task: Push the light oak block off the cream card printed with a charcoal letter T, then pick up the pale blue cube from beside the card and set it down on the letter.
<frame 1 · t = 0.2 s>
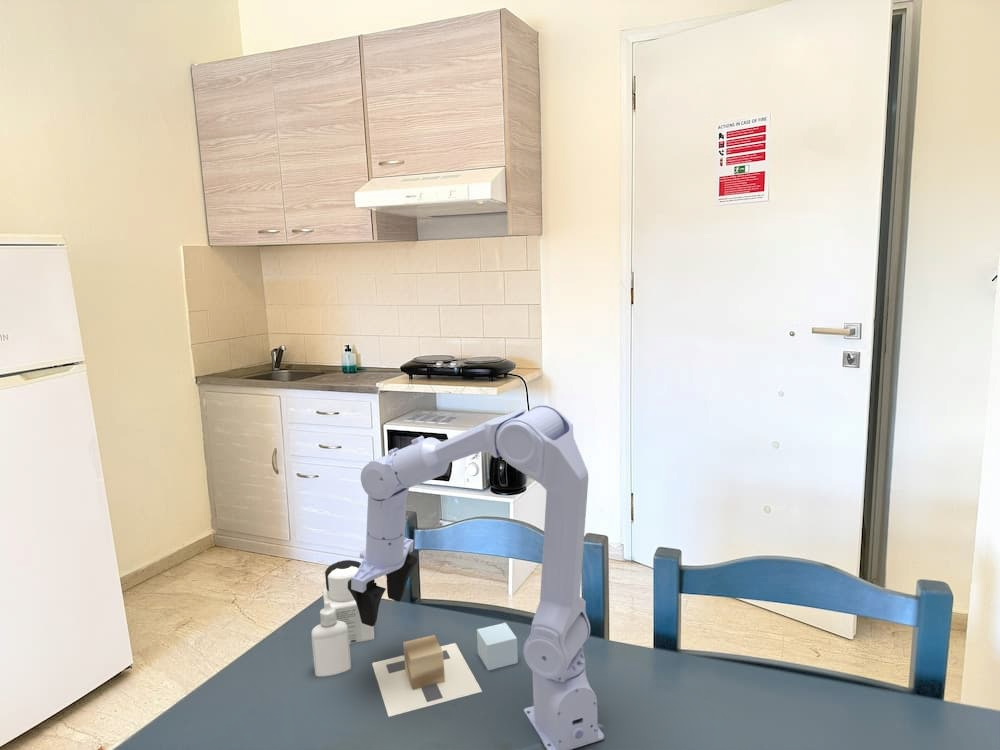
hand: (381, 610, 104), 10 cm above the table, tool pointing down, fingers open, 7 cm apart
letter card: (425, 680, 103), on the table
oak block: (424, 676, 103), point 1 cm above the table, touching letter card
pale blue cube: (497, 662, 107), on the table
eye dropper bottle: (333, 673, 106), on the table
container: (350, 636, 117), on the table
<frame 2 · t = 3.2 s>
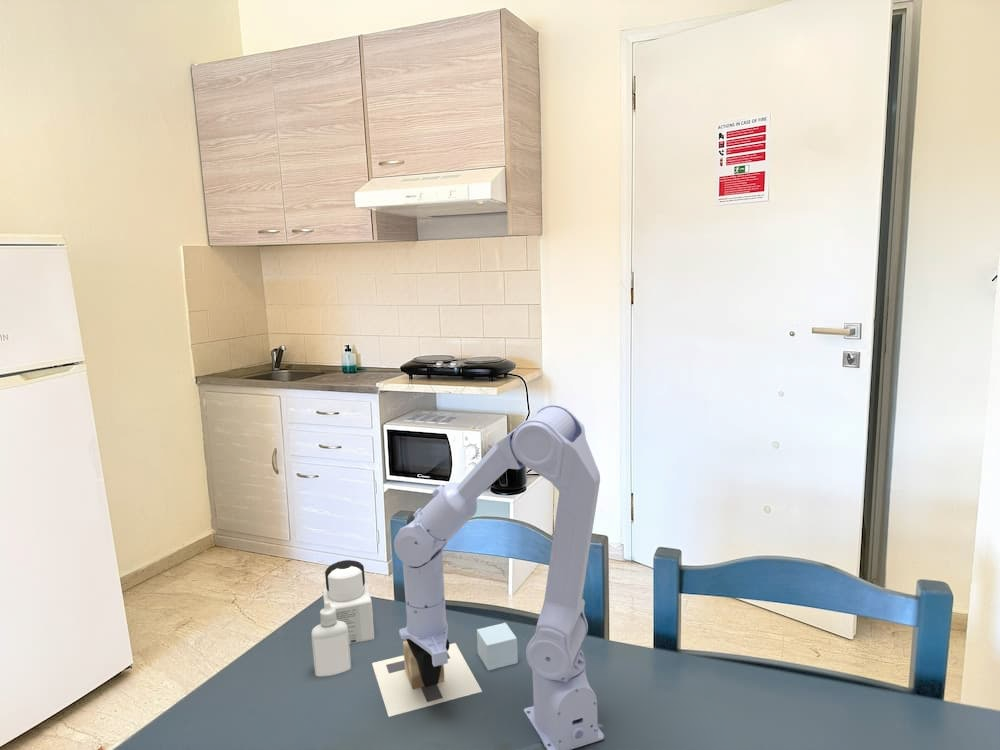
hand: (430, 683, 99), 2 cm above the table, tool pointing down, fingers closed
oak block: (424, 675, 103), point 1 cm above the table, touching gripper
everything else where it was.
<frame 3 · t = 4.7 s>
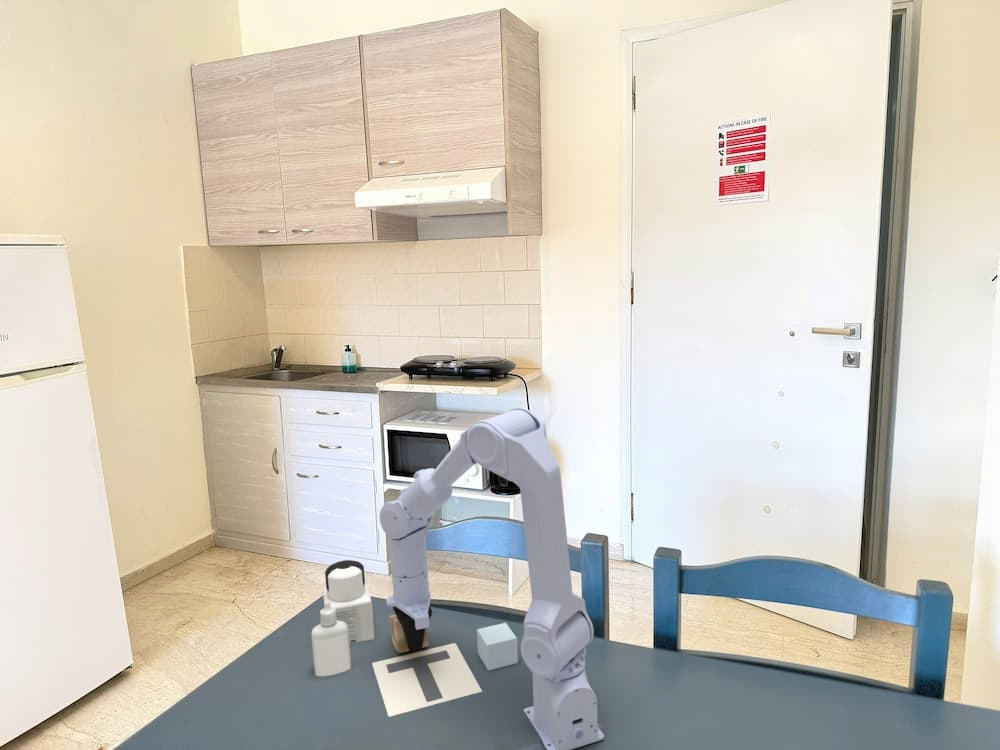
hand: (414, 647, 108), 2 cm above the table, tool pointing down, fingers closed
oak block: (410, 646, 111), point 1 cm above the table, tilted 16°, touching gripper
everything else where it was.
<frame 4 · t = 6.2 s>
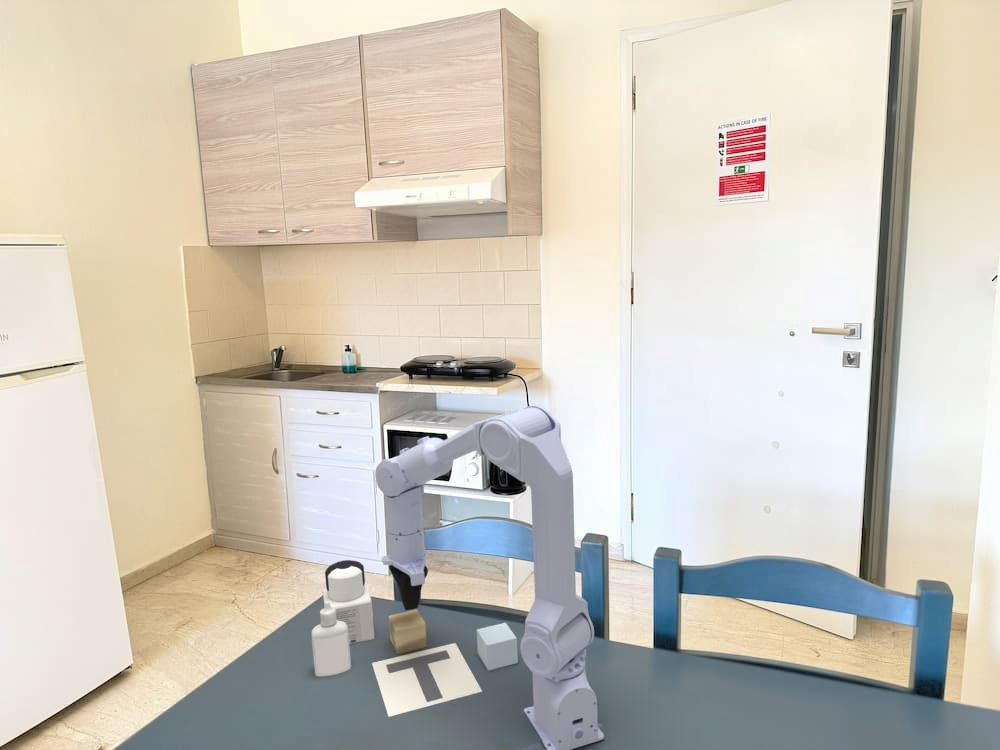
hand: (410, 607, 109), 8 cm above the table, tool pointing down, fingers closed
oak block: (408, 646, 112), on the table
everything else where it was.
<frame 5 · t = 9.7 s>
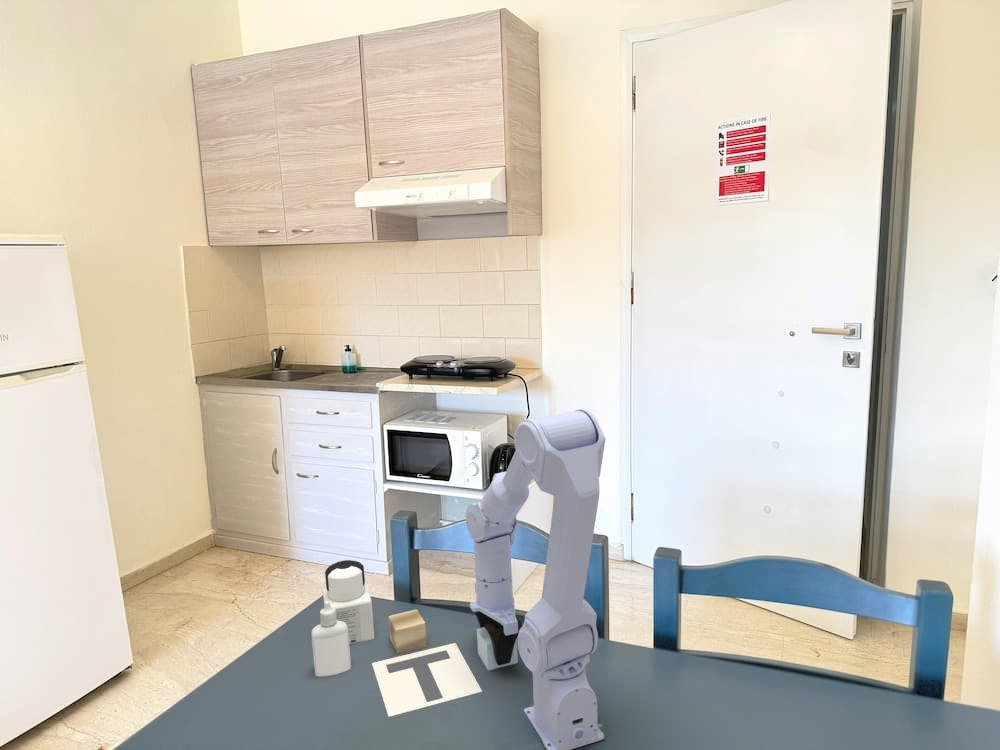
hand: (497, 653, 107), 1 cm above the table, tool pointing down, fingers closed on pale blue cube, 5 cm apart
pale blue cube: (497, 661, 107), on the table, touching gripper
everything else where it was.
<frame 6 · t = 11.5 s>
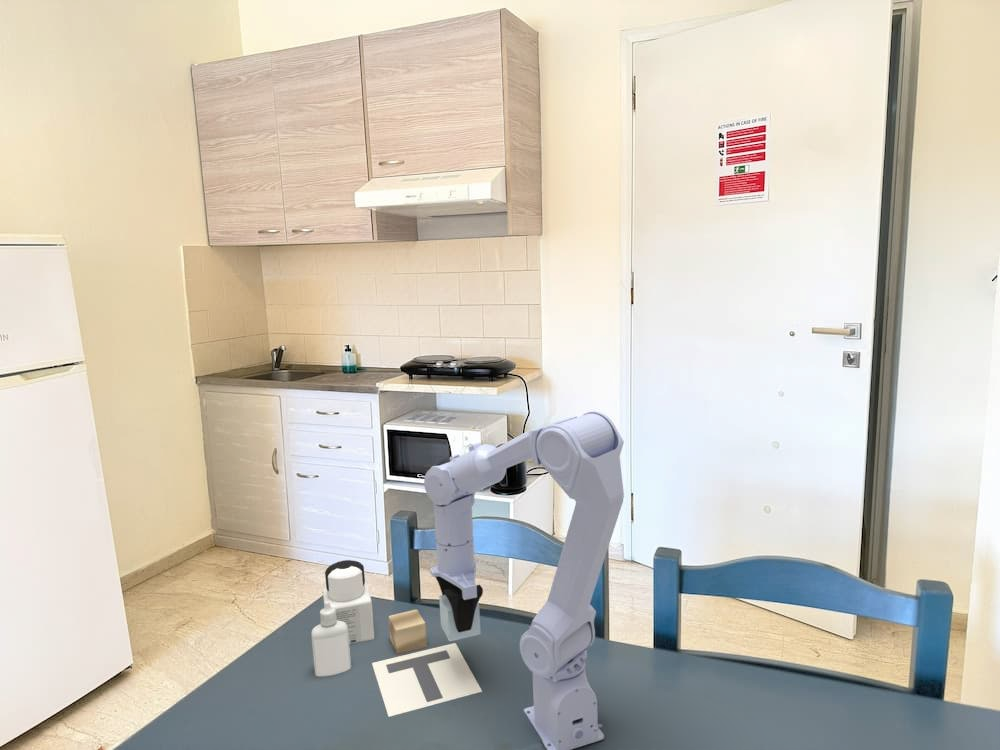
hand: (459, 621, 104), 8 cm above the table, tool pointing down, fingers closed on pale blue cube, 5 cm apart
pale blue cube: (460, 629, 104), point 7 cm above the table, touching gripper
everything else where it was.
when the fingers open (3 cm above the table, at t = 13.7 s): pale blue cube drops 1 cm, resting on letter card.
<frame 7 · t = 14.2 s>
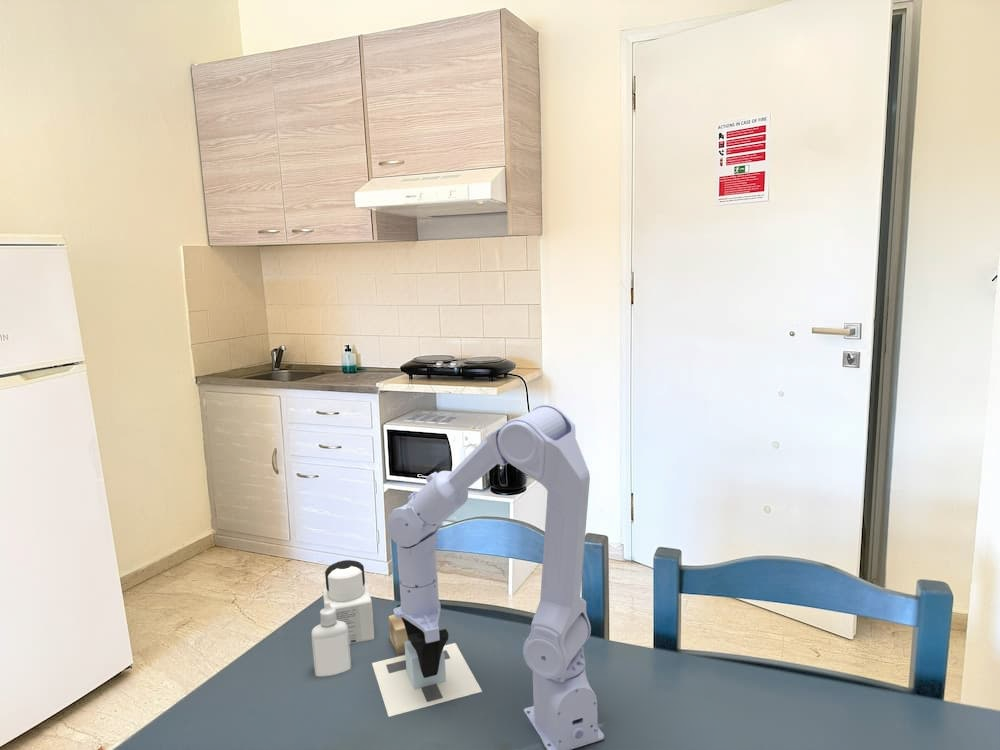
hand: (423, 661, 102), 3 cm above the table, tool pointing down, fingers open, 7 cm apart
pale blue cube: (425, 676, 103), point 1 cm above the table, touching letter card
everything else where it was.
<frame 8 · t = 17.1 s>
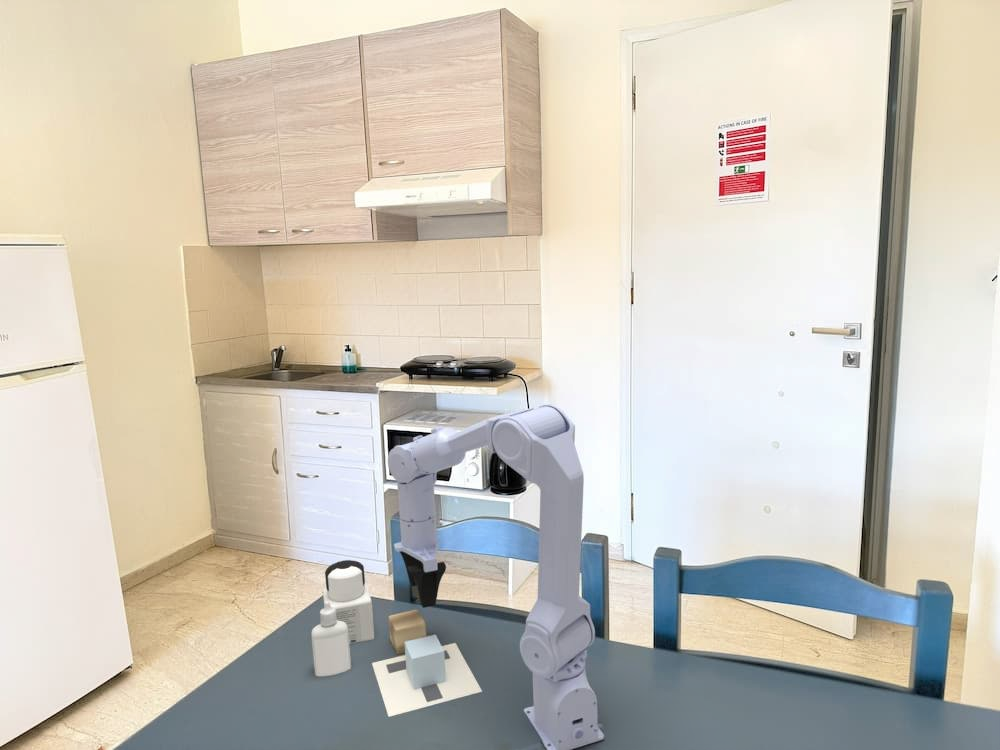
hand: (422, 594, 108), 10 cm above the table, tool pointing down, fingers open, 7 cm apart
nothing on the table moved.
at the end: oak block touching table; pale blue cube 0.2 cm off-centre on the letter card, point 0.6 cm above the letter card's base; pale blue cube tilted 0° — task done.
